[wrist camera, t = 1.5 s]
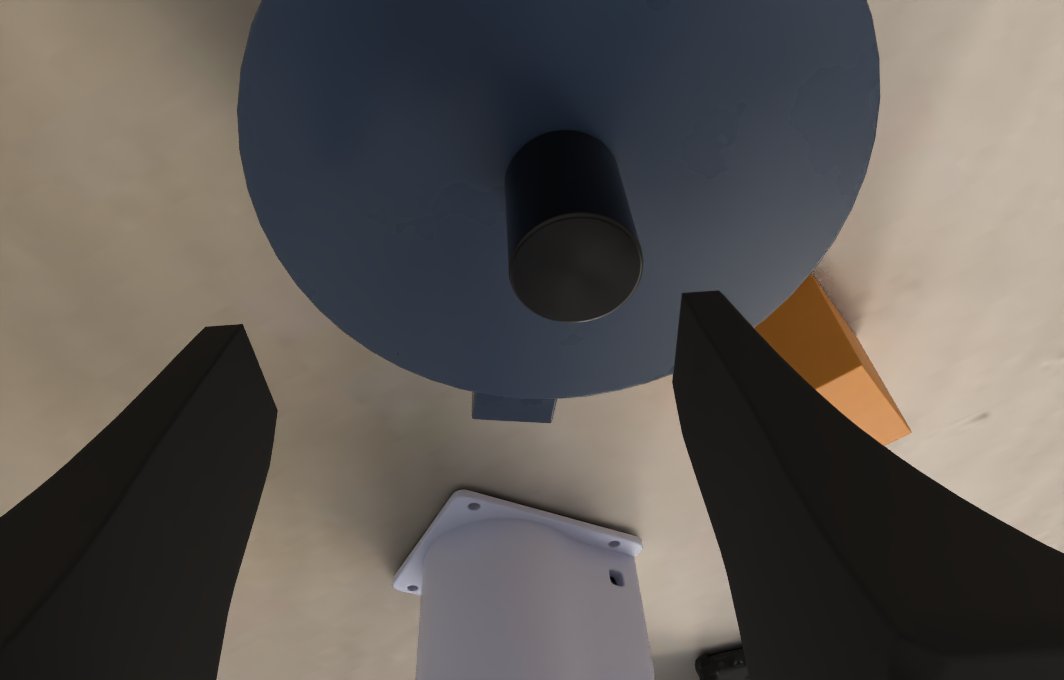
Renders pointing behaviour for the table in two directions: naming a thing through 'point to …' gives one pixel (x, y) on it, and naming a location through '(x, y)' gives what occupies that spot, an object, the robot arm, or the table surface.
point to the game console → (722, 666)
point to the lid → (551, 171)
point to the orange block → (832, 360)
